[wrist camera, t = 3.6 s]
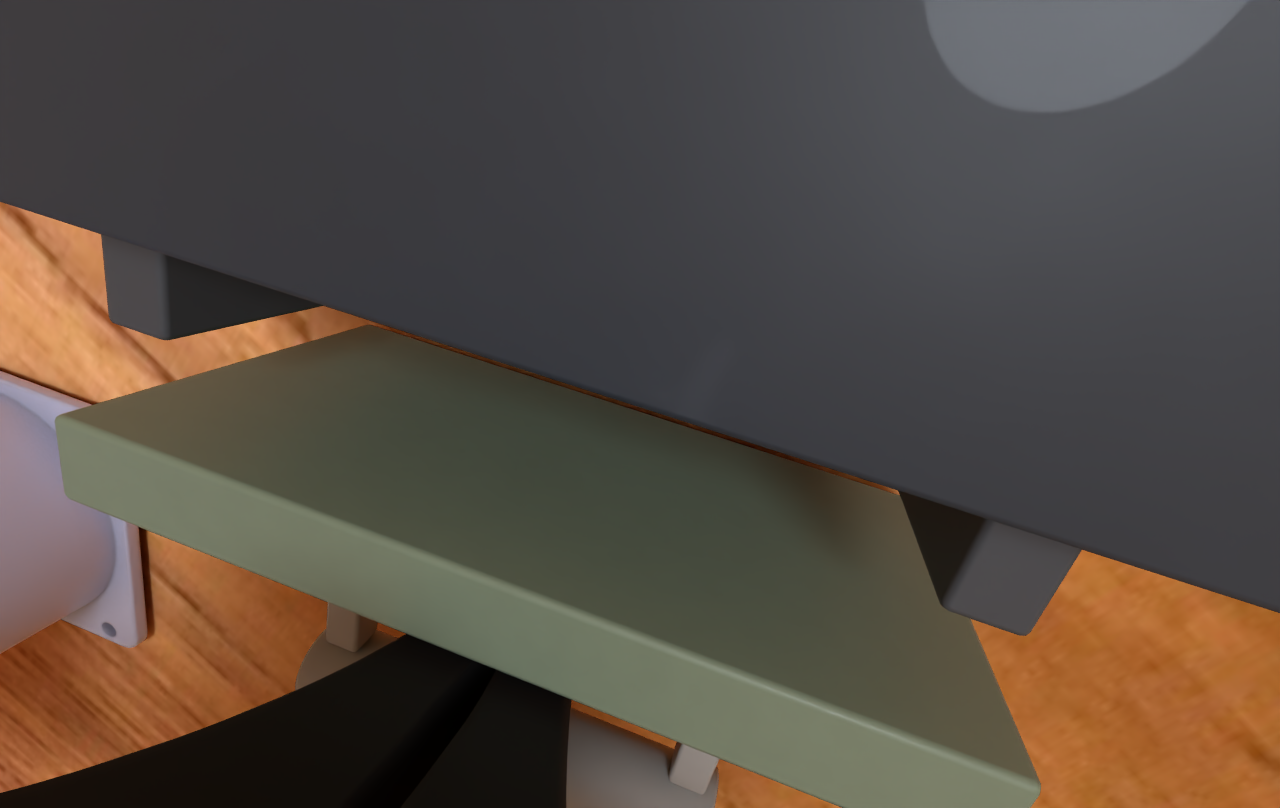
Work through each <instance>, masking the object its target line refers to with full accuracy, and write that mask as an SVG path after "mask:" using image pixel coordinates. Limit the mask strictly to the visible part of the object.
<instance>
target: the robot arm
mask: <svg viewBox="0 0 1280 808" xmlns="http://www.w3.org/2000/svg"><path fill="white" fill-rule="evenodd" d="M87 406H91V404H89V403H86V402H83V401H81V400H78V399H75V398H72V397H70V396H67V395H64V394H62V393H59V392H56V391H54V390H51V389H48V388H45V387H43V386H40V385H37V384H35V383H32V382H29V381H27V380H24V379H21V378H18V377H16V376H13V375H10V374H8V373H5V372H2V371H0V654H1V653H2V652H4V651H6V650H8V649H9V648H11V647H13V646H15V645H16V644H18V643H20V642H22V641H23V640H25V639H27V638H29V637H30V636H32V635H34V634H36V633H37V632H39V631H41V630H43V629H44V628H46V627H48V626H50V625H51V624H53V623H55V622H57V621H58V620H60V619H61V620H64V621H66V622H68V623H71V624H73V625H75V626H78V627H80V628H82V629H84V630H87V631H89V632H91V633H94V634H96V635H98V636H101V637H103V638H105V639H108V640H110V641H112V642H114V643H117V644H119V645H121V646H124V647H128V648H132V647H135V646H137V645H138V644H140V643H141V642H143V641H144V640H145V639H146V638H147V632H148V631H147V620H146V608H145V596H144V585H143V573H142V562H141V550H140V538H139V527H138V526H135V525H133V524H130V523H128V522H125V521H123V520H120V519H118V518H115V517H113V516H110V515H108V514H105V513H103V512H100V511H98V510H95V509H93V508H90V507H88V506H85V505H83V504H80V503H78V502H75V501H73V500H70V499H69V498H68V497H67V496H66V495H65V493H64V486H63V479H62V472H61V464H60V457H59V450H58V443H57V435H56V428H55V419H56V417H57V416H58V415H60V414H63V413H67V412H70V411H73V410H77V409H80V408H84V407H87ZM570 710H571V699H569V698H566V697H564V696H561V695H559V694H556V693H554V692H551V691H549V690H546V689H544V688H541V687H539V686H536V685H534V684H531V683H529V682H526V681H524V680H521V679H519V678H516V677H514V676H511V675H509V674H506V673H504V672H501V671H498V670H496V669H493V668H491V667H488V666H486V665H483V664H481V663H478V662H476V661H473V660H471V659H468V658H466V657H463V656H461V655H458V654H456V653H453V652H451V651H448V650H446V649H443V648H441V647H438V646H436V645H433V644H431V643H428V642H426V641H423V640H421V639H418V638H416V637H413V636H411V635H408V634H406V635H404V636H402V637H400V638H398V639H396V640H395V641H393V642H391V643H389V644H387V645H385V646H384V647H382V648H380V649H378V650H376V651H374V652H373V653H371V654H369V655H367V656H365V657H363V658H362V659H360V660H358V661H356V662H354V663H352V664H350V665H348V666H346V667H344V668H342V669H340V670H338V671H336V672H334V673H332V674H330V675H328V676H325V677H323V678H321V679H319V680H317V681H315V682H313V683H311V684H308V685H306V686H304V687H302V688H300V689H297V690H295V691H293V692H291V693H289V694H286V695H284V696H282V697H279V698H277V699H275V700H272V701H270V702H267V703H265V704H263V705H260V706H258V707H255V708H253V709H250V710H248V711H246V712H243V713H241V714H238V715H236V716H233V717H231V718H228V719H226V720H224V721H221V722H218V723H216V724H213V725H211V726H208V727H205V728H203V729H200V730H197V731H195V732H192V733H189V734H187V735H184V736H181V737H178V738H176V739H173V740H170V741H167V742H164V743H161V744H158V745H155V746H152V747H149V748H146V749H143V750H140V751H137V752H134V753H131V754H128V755H125V756H122V757H119V758H116V759H113V760H110V761H107V762H104V763H101V764H98V765H95V766H92V767H89V768H86V769H82V770H79V771H76V772H73V773H70V774H66V775H63V776H60V777H56V778H53V779H49V780H46V781H43V782H39V783H36V784H32V785H29V786H25V787H21V788H18V789H14V790H10V791H6V792H3V793H0V808H566V786H567V754H568V737H569V721H570Z"/></svg>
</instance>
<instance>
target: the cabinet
mask: <svg viewBox="0 0 1280 808" xmlns="http://www.w3.org/2000/svg"><path fill="white" fill-rule="evenodd" d="M0 202H3V203H6V204H9V205H12V206H15V207H19V208H22V209H25V210H28V211H31V212H34V213H37V214H40V215H43V216H47V217H50V218H53V219H56V220H59V221H62V222H65V223H68V224H71V225H75V226H78V227H81V228H84V229H87V230H90V231H93V232H96V233H99V234H103V235H106V236H109V237H112V238H115V239H118V240H121V241H124V242H127V243H131V244H134V245H137V246H140V247H143V248H146V249H149V250H152V251H155V252H159V253H162V254H165V255H168V256H171V257H174V258H177V259H180V260H183V261H186V262H190V263H193V264H196V265H199V266H202V267H205V268H208V269H211V270H214V271H218V272H221V273H224V274H227V275H230V276H233V277H236V278H239V279H242V280H246V281H249V282H252V283H255V284H258V285H261V286H264V287H267V288H270V289H274V290H277V291H280V292H283V293H286V294H289V295H292V296H295V297H298V298H302V299H305V300H308V301H311V302H314V303H317V304H320V305H323V306H326V307H330V308H333V309H336V310H339V311H342V312H345V313H348V314H351V315H354V316H358V317H361V318H364V319H367V320H370V321H373V322H376V323H379V324H382V325H386V326H389V327H392V328H395V329H398V330H401V331H404V332H407V333H410V334H414V335H417V336H420V337H423V338H426V339H429V340H432V341H435V342H438V343H442V344H445V345H448V346H451V347H454V348H457V349H460V350H463V351H466V352H470V353H473V354H476V355H479V356H482V357H485V358H488V359H491V360H494V361H498V362H501V363H504V364H507V365H510V366H513V367H516V368H519V369H522V370H525V371H529V372H532V373H535V374H538V375H541V376H544V377H547V378H550V379H553V380H557V381H560V382H563V383H566V384H569V385H572V386H575V387H578V388H581V389H585V390H588V391H591V392H594V393H597V394H600V395H603V396H606V397H609V398H613V399H616V400H619V401H622V402H625V403H628V404H631V405H634V406H637V407H641V408H644V409H647V410H650V411H653V412H656V413H659V414H662V415H665V416H669V417H672V418H675V419H678V420H681V421H684V422H687V423H690V424H693V425H697V426H700V427H703V428H706V429H709V430H712V431H715V432H718V433H721V434H725V435H728V436H731V437H734V438H737V439H740V440H743V441H746V442H749V443H753V444H756V445H759V446H762V447H765V448H768V449H771V450H774V451H777V452H781V453H784V454H787V455H790V456H793V457H796V458H799V459H802V460H805V461H809V462H812V463H815V464H818V465H821V466H824V467H827V468H830V469H833V470H836V471H840V472H843V473H846V474H849V475H852V476H855V477H858V478H861V479H864V480H868V481H871V482H874V483H877V484H880V485H883V486H886V487H889V488H892V489H896V490H899V491H902V492H905V493H908V494H911V495H914V496H917V497H920V498H924V499H927V500H930V501H933V502H936V503H939V504H942V505H945V506H948V507H952V508H955V509H958V510H961V511H964V512H967V513H970V514H973V515H976V516H980V517H983V518H986V519H989V520H992V521H995V522H998V523H1001V524H1004V525H1008V526H1011V527H1014V528H1017V529H1020V530H1023V531H1026V532H1029V533H1032V534H1036V535H1039V536H1042V537H1045V538H1048V539H1051V540H1054V541H1057V542H1060V543H1064V544H1067V545H1070V546H1073V547H1076V548H1079V549H1082V550H1085V551H1088V552H1092V553H1095V554H1098V555H1101V556H1104V557H1107V558H1110V559H1113V560H1116V561H1120V562H1123V563H1126V564H1129V565H1132V566H1135V567H1138V568H1141V569H1144V570H1148V571H1151V572H1154V573H1157V574H1160V575H1163V576H1166V577H1169V578H1172V579H1175V580H1179V581H1182V582H1185V583H1188V584H1191V585H1194V586H1197V587H1200V588H1203V589H1207V590H1210V591H1213V592H1216V593H1219V594H1222V595H1225V596H1228V597H1231V598H1235V599H1238V600H1241V601H1244V602H1247V603H1250V604H1253V605H1256V606H1259V607H1263V608H1266V609H1269V610H1272V611H1275V612H1278V613H1280V0H0Z"/></svg>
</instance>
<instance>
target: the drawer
mask: <svg viewBox="0 0 1280 808" xmlns="http://www.w3.org/2000/svg"><path fill="white" fill-rule="evenodd" d="M101 238H102V248H103V259H104V270H105V280H106V291H107V302H108V313H109V318H110V320H111V321H112V322H113V323H115V324H118V325H121V326H124V327H127V328H130V329H132V330H135V331H138V332H141V333H144V334H147V335H150V336H153V337H156V338H159V339H162V340H172V339H176V338H181V337H185V336H189V335H194V334H198V333H203V332H207V331H212V330H216V329H221V328H225V327H230V326H234V325H239V324H243V323H248V322H252V321H257V320H261V319H266V318H270V317H275V316H279V315H284V314H288V313H293V312H297V311H302V310H306V309H311V308H315V307H320V306H323V305H320V304H317V303H314V302H311V301H308V300H305V299H302V298H298V297H295V296H292V295H289V294H286V293H283V292H280V291H277V290H274V289H270V288H267V287H264V286H261V285H258V284H255V283H252V282H249V281H246V280H242V279H239V278H236V277H233V276H230V275H227V274H224V273H221V272H218V271H214V270H211V269H208V268H205V267H202V266H199V265H196V264H193V263H190V262H186V261H183V260H180V259H177V258H174V257H171V256H168V255H165V254H162V253H159V252H155V251H152V250H149V249H146V248H143V247H140V246H137V245H134V244H131V243H127V242H124V241H121V240H118V239H115V238H112V237H109V236H106V235H103V234H101ZM55 428H56V435H57V443H58V450H59V457H60V464H61V472H62V479H63V486H64V493H65V495H66V496H67V497H68V498H69V499H70V500H73V501H75V502H78V503H80V504H83V505H85V506H88V507H90V508H93V509H95V510H98V511H100V512H103V513H105V514H108V515H110V516H113V517H115V518H118V519H120V520H123V521H125V522H128V523H130V524H133V525H135V526H138V527H140V528H143V529H145V530H148V531H150V532H153V533H155V534H158V535H160V536H163V537H165V538H168V539H170V540H173V541H175V542H178V543H180V544H183V545H185V546H188V547H190V548H193V549H195V550H198V551H200V552H203V553H205V554H208V555H210V556H213V557H215V558H218V559H220V560H223V561H225V562H228V563H230V564H233V565H235V566H238V567H240V568H243V569H245V570H248V571H250V572H253V573H255V574H258V575H261V576H263V577H266V578H268V579H271V580H273V581H276V582H278V583H281V584H283V585H286V586H288V587H291V588H293V589H296V590H298V591H301V592H303V593H306V594H308V595H311V596H313V597H316V598H318V599H321V600H323V601H326V602H328V609H327V626H326V629H325V630H324V631H323V632H322V633H321V634H320V635H319V636H318V638H317V639H316V640H315V642H314V643H313V644H312V646H311V647H310V649H309V651H308V652H307V654H306V656H305V658H304V660H303V662H302V664H301V666H300V669H299V672H298V675H297V679H296V685H295V690H297V689H300V688H302V687H304V686H306V685H308V684H311V683H313V682H315V681H317V680H319V679H321V678H323V677H325V676H328V675H330V674H332V673H334V672H336V671H338V670H340V669H342V668H344V667H346V666H348V665H350V664H352V663H354V662H356V661H358V660H360V659H362V658H363V657H365V656H367V655H369V654H371V653H373V652H374V651H376V650H378V649H380V648H382V647H384V646H385V645H387V644H389V643H391V642H393V641H395V640H396V639H398V638H396V637H394V636H391V635H389V634H386V633H384V632H381V631H379V630H376V629H377V622H378V623H381V624H383V625H386V626H388V627H391V628H393V629H396V630H398V631H401V632H403V633H406V634H408V635H411V636H413V637H416V638H418V639H421V640H423V641H426V642H428V643H431V644H433V645H436V646H438V647H441V648H443V649H446V650H448V651H451V652H453V653H456V654H458V655H461V656H463V657H466V658H468V659H471V660H473V661H476V662H478V663H481V664H483V665H486V666H488V667H491V668H493V669H496V670H498V671H501V672H504V673H506V674H509V675H511V676H514V677H516V678H519V679H521V680H524V681H526V682H529V683H531V684H534V685H536V686H539V687H541V688H544V689H546V690H549V691H551V692H554V693H556V694H559V695H561V696H564V697H566V698H569V699H571V700H574V701H576V702H579V703H581V704H584V705H586V706H589V707H591V708H594V709H596V710H599V711H601V712H604V713H606V714H609V715H611V716H614V717H616V718H619V719H621V720H624V721H626V722H629V723H631V724H634V725H636V726H639V727H641V728H644V729H646V730H649V731H651V732H654V733H656V734H659V735H661V736H664V737H666V738H669V739H671V740H674V741H676V742H677V743H676V746H675V749H673V748H670V747H668V746H665V745H663V744H660V743H658V742H655V741H653V740H650V739H648V738H645V737H643V736H640V735H638V734H635V733H633V732H630V731H628V730H625V729H623V728H620V727H618V726H615V725H613V724H610V723H608V722H605V721H603V720H600V719H598V718H595V717H593V716H590V715H588V714H585V713H583V712H581V711H578V710H576V709H573V708H571V710H570V721H569V737H568V754H567V786H566V808H715V803H716V797H717V791H718V782H719V773H718V768H717V767H716V766H717V763H718V761H719V759H721V760H724V761H726V762H729V763H731V764H734V765H736V766H739V767H742V768H744V769H747V770H749V771H752V772H754V773H757V774H759V775H762V776H764V777H767V778H769V779H772V780H774V781H777V782H779V783H782V784H784V785H787V786H789V787H792V788H794V789H797V790H799V791H802V792H804V793H807V794H809V795H812V796H814V797H817V798H819V799H822V800H824V801H827V802H829V803H832V804H834V805H837V806H839V807H842V808H1030V807H1031V806H1032V804H1033V803H1034V802H1035V800H1036V799H1037V797H1038V796H1039V795H1040V790H1041V784H1040V781H1039V779H1038V776H1037V774H1036V771H1035V769H1034V767H1033V764H1032V762H1031V760H1030V757H1029V755H1028V753H1027V750H1026V748H1025V746H1024V743H1023V741H1022V739H1021V736H1020V734H1019V732H1018V729H1017V727H1016V725H1015V722H1014V720H1013V718H1012V715H1011V713H1010V711H1009V708H1008V706H1007V704H1006V701H1005V699H1004V697H1003V694H1002V692H1001V690H1000V687H999V685H998V683H997V680H996V678H995V676H994V673H993V671H992V669H991V666H990V664H989V662H988V659H987V657H986V655H985V652H984V650H983V647H982V645H981V643H980V640H979V638H978V636H977V633H976V631H975V629H974V626H973V624H972V622H971V619H973V620H976V621H979V622H982V623H985V624H988V625H991V626H994V627H997V628H999V629H1002V630H1005V631H1008V632H1011V633H1014V634H1017V635H1022V636H1026V635H1027V634H1029V633H1030V632H1031V630H1032V629H1033V627H1034V626H1035V624H1036V622H1037V621H1038V619H1039V617H1040V616H1041V614H1042V613H1043V611H1044V609H1045V608H1046V606H1047V605H1048V603H1049V601H1050V600H1051V598H1052V597H1053V595H1054V593H1055V592H1056V590H1057V589H1058V587H1059V585H1060V584H1061V582H1062V581H1063V579H1064V577H1065V576H1066V574H1067V573H1068V571H1069V569H1070V568H1071V566H1072V565H1073V563H1074V561H1075V560H1076V558H1077V557H1078V555H1079V553H1080V552H1081V550H1082V549H1079V548H1076V547H1073V546H1070V545H1067V544H1064V543H1060V542H1057V541H1054V540H1051V539H1048V538H1045V537H1042V536H1039V535H1036V534H1032V533H1029V532H1026V531H1023V530H1020V529H1017V528H1014V527H1011V526H1008V525H1004V524H1001V523H998V522H995V521H992V520H989V519H986V518H983V517H980V516H976V515H973V514H970V513H967V512H964V511H961V510H958V509H955V508H952V507H948V506H945V505H942V504H939V503H936V502H933V501H930V500H927V499H924V498H920V497H917V496H914V495H911V494H908V493H905V492H902V491H899V490H898V491H899V494H900V496H899V495H896V494H893V493H890V492H887V491H884V490H881V489H878V488H875V487H872V486H868V485H865V484H862V483H859V482H856V481H853V480H850V479H847V478H844V477H841V476H837V475H834V474H831V473H828V472H825V471H822V470H819V469H816V468H813V467H810V466H806V465H803V464H800V463H797V462H794V461H791V460H788V459H785V458H782V457H779V456H775V455H772V454H769V453H766V452H763V451H760V450H757V449H754V448H751V447H748V446H744V445H741V444H738V443H735V442H732V441H729V440H726V439H723V438H720V437H717V436H713V435H710V434H707V433H704V432H701V431H698V430H695V429H692V428H689V427H686V426H682V425H679V424H676V423H673V422H670V421H667V420H664V419H661V418H658V417H655V416H651V415H648V414H645V413H642V412H639V411H636V410H633V409H630V408H627V407H624V406H620V405H617V404H614V403H611V402H608V401H605V400H602V399H599V398H596V397H593V396H589V395H586V394H583V393H580V392H577V391H574V390H571V389H568V388H565V387H562V386H558V385H555V384H552V383H549V382H546V381H543V380H540V379H537V378H534V377H531V376H527V375H524V374H521V373H518V372H515V371H512V370H509V369H506V368H503V367H500V366H496V365H493V364H490V363H487V362H484V361H481V360H478V359H475V358H472V357H469V356H465V355H462V354H459V353H456V352H453V351H450V350H447V349H444V348H441V347H438V346H435V345H431V344H428V343H425V342H422V341H419V340H416V339H413V338H410V337H407V336H404V335H400V334H397V333H394V332H391V331H388V330H385V329H382V328H379V327H376V326H373V325H365V326H362V327H358V328H355V329H351V330H348V331H345V332H341V333H338V334H334V335H331V336H327V337H324V338H321V339H317V340H314V341H310V342H307V343H303V344H300V345H296V346H293V347H290V348H286V349H283V350H279V351H276V352H272V353H269V354H266V355H262V356H259V357H255V358H252V359H248V360H245V361H242V362H238V363H235V364H231V365H228V366H224V367H221V368H218V369H214V370H211V371H207V372H204V373H200V374H197V375H194V376H190V377H187V378H183V379H180V380H176V381H173V382H170V383H166V384H163V385H159V386H156V387H152V388H149V389H145V390H142V391H139V392H135V393H132V394H128V395H125V396H121V397H118V398H115V399H111V400H108V401H104V402H101V403H97V404H94V405H91V406H87V407H84V408H80V409H77V410H73V411H70V412H67V413H63V414H60V415H58V416H57V417H56V419H55Z"/></svg>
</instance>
